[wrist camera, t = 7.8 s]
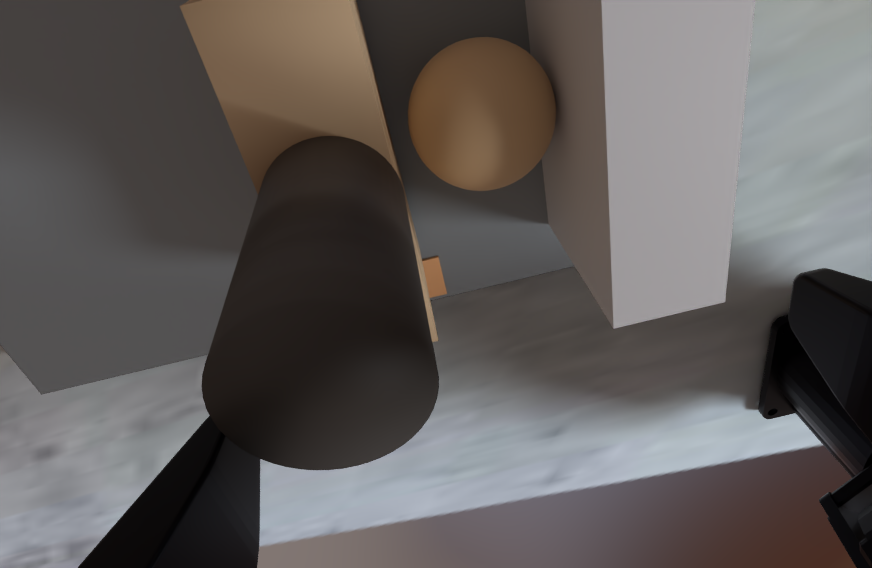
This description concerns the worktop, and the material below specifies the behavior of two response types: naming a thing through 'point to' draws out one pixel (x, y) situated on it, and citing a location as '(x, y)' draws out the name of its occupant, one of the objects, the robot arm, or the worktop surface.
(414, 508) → the worktop surface
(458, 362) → the worktop surface
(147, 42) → the cracker base
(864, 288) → the robot arm
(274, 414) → the lever handle
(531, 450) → the worktop surface
